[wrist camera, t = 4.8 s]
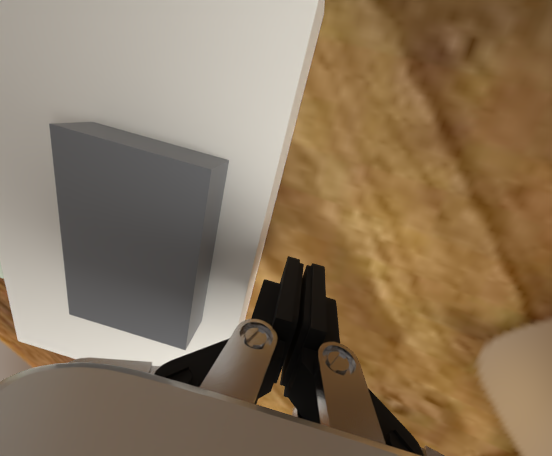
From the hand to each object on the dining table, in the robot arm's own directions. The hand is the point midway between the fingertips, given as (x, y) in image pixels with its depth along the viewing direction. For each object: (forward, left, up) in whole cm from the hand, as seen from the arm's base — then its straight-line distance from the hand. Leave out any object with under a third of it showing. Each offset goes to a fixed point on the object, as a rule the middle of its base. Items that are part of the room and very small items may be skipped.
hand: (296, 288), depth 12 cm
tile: (0, -7, -1) cm, 7 cm away
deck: (0, -9, -5) cm, 10 cm away
